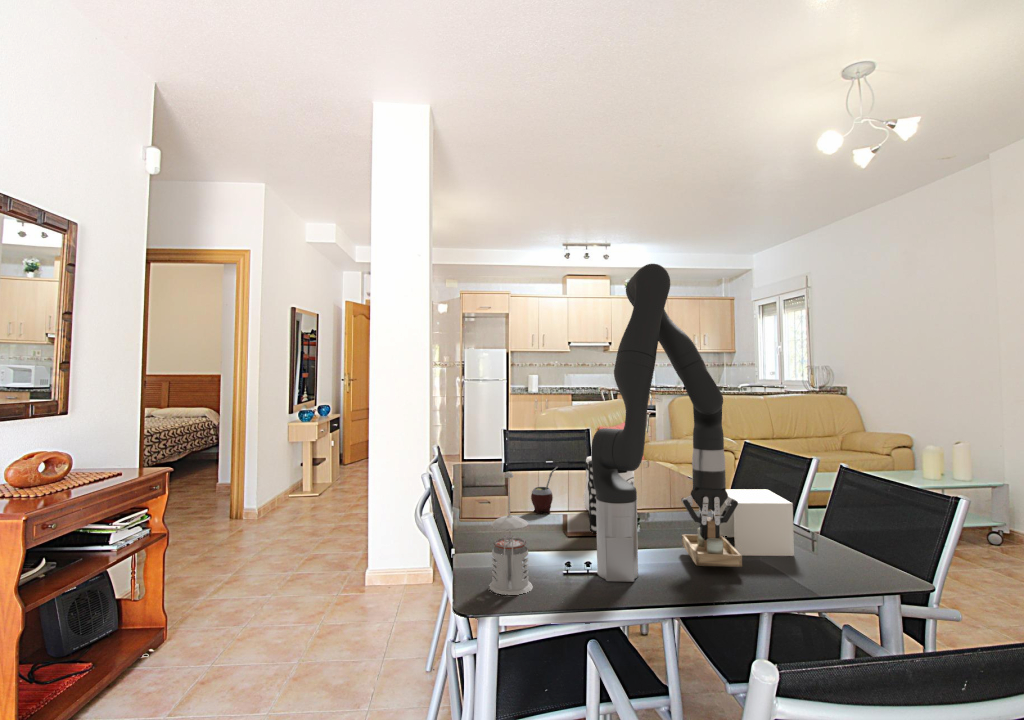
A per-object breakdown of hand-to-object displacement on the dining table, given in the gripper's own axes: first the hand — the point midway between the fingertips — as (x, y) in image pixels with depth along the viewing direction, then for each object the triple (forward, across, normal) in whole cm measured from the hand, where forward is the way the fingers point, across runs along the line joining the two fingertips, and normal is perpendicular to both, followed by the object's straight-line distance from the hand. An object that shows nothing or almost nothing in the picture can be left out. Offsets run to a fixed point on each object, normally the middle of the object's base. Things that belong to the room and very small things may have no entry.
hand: (709, 539), depth 132 cm
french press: (+6, -46, -18) cm, 50 cm away
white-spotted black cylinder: (+6, -24, +25) cm, 35 cm away
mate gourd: (+6, -42, +45) cm, 62 cm away
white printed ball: (+6, -20, +45) cm, 50 cm away
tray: (+4, 0, 0) cm, 4 cm away
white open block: (+5, +15, +14) cm, 21 cm away
